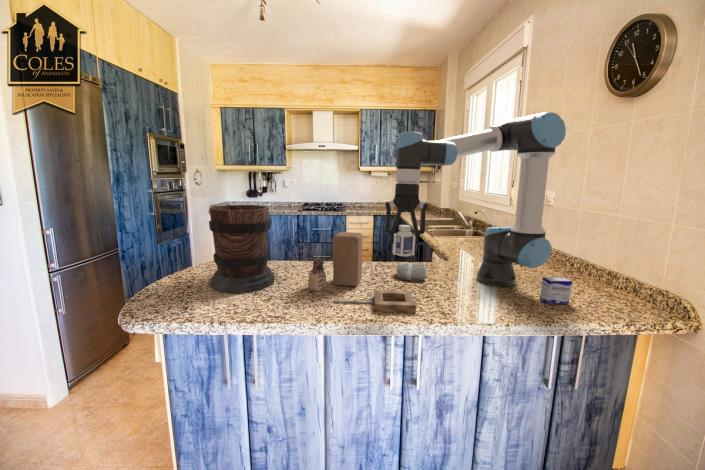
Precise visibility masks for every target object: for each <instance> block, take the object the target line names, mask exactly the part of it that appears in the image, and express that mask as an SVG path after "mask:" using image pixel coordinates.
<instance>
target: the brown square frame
mask: <svg viewBox="0 0 705 470" xmlns="http://www.w3.org/2000/svg"><path fill="white" fill-rule="evenodd" d="M373 298H374V299H373V300H374V301H372V300H371V301H370V300H365V301H364V300H345V299H344V300H341V299H340V300H339V299H335V300H334V299H333V304H334V303H335V304H337V303H338V304H358V303H360V304H364V305H366V304H367V305H374V312H378V313H379V312H382V313H406V314H407V313H408V314H409V313H410V314H416V313H417V305H416V302H415V299H414V296H413V292H412V291H411V290H391V289H390V290H389V289H388V290H383V289H374V293H373Z"/></svg>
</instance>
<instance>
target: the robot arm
mask: <svg viewBox="0 0 705 470" xmlns="http://www.w3.org/2000/svg"><path fill="white" fill-rule="evenodd" d="M566 134H567V129H566V123H565V121H564V119H562V117H561V116H560V115H559V114H558V113H556V112H553V111H548V112H546V111H545V112H538V113H534V114H529V115H527V116H526V115H525V116H521V117H516V118H513V119H510V120H508V121H504V122H501V123H499V124H495V125H491V126H489V127H487V129H485V130H480V131H475V132H471V133H467V134H461V135H457V136H451V137H447V138H441V139H438V140H427V139H424V136H423V133H422V132H418V131H404V132H401V133H399V135H398V137H397V138H398V139H397V145H396V148H397V150H396V151H397V152H396V153H397V155H396V170H395V171H396V172H395V181H396V182H397V183H396V184H395V187H394V188H395V189H394V190H395V191H394V198H393V199H392V200H390V201H385V203H384V204H385V208H386V211H385V215H386V216H385V223H384V225H385V226H384V231H385V233H387V234H390V235H389V243H390V245H392V255H396V236H397V235H396V233H395V232H396V230H397V227H398V224H399V221H400V219H401V215H402V214H403V213H409V214H410V215H409V216H410V219H411V224H412V228H413V232H414V234H413V233H412V234H413V239H412V254H411V255H410V256H415V251H416V247H415V246H418V245H419V236H420V235H423V234H425V232H426V211H427V208H428V207H429V206H428V203H426V202H423V201H421V200H420V198H419V196H420V195H419V194H420V184H419V182H420V180H421V167H422V166H424V167H426V166H442V167H444V166H452V165H454V164H455V162H456V160H457V158H460V157H465V156H470V155H474V154H478V153H483V152H484V153H485V152H488V151H490V152H492V153H495V152H500V151H517V153H516V154H517V156H518V157H519V158H520V170H519V178H518V179H519V180H518V190H517V200H516V201H517V202H516V210H515V211H516V213H515V222H514V225H513V226H490V227H489V226H488V227H487V228H485V233H484V237H483V251H482V252H483V253H482V261H481V264H480V265H479V268H478V271H477V273H476V280H477V281H479V282H480V283H482V284H485V285H489V286H495V287H504V288H505V287H513V286H515V285H516V284H517V283H516V282H517V277H516V272H515V268H514V264H516V265H518V266H520V267H523V268H528V269H536V268H537V269H538V268H539V267H542V266H543V265H545V263H546V262H547V261H548V260H549V259H550V256H551V255H552V249H553V248H552V244H551V242H550V240H548V239H547V238H546V230H545V229H544V228H543V227H542V225H543V224H542V223H543V216H544V215H543V214H544V207H545V198H546V197H545V196H546V189H547V179H548V170H549V163H550V162H549V161H550V158H551V157H552V156H553V155H555V154H556V148H557V147H558V146H560V145H561V144H562V142H563V141H564V139H565V138H566ZM393 205H394V206H395V207H396V209H397V210H396V214H395V216H394V220H393V222H392V225H390V224H391V223H390V222H391V214H392V213H391V211H392V209H391V208H393ZM418 206H419V208H420V218H419V219H420V221H419V222H420V223H419V227H418V222H417V217H416V212H415V210H416V208H417V207H418ZM390 226H391V228H390Z"/></svg>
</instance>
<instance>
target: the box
mask: <svg viewBox="0 0 705 470" xmlns="http://www.w3.org/2000/svg"><path fill="white" fill-rule="evenodd" d="M572 285H573V281H572V280H570V279H568V278H566V277H561V276H559V277H558V276H555V277H550V276H549V277H547V276H544V277H542V280H541V288H540V294H539V295H540V296H539V300H540V301H541V302H543V303H545V304H547V305H569V304H570V298H571V292H572V287H573V286H572Z"/></svg>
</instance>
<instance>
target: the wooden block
mask: <svg viewBox="0 0 705 470" xmlns="http://www.w3.org/2000/svg"><path fill="white" fill-rule="evenodd" d="M332 240H333V241H332V242H333V243H332V244H333V245H332V251H333V253H332V256H333V257H332V260H333V261H332V264H333V265H332V270H333V271H332V276H333V277H332V283H333V285H335V286H341V285H342V286H343V287H344V286H345V287H355V288H357V287H358V286H359V284H360V282H361V281H362V276H363V275H362V271H363V270H362V269H363V266H362V264H363V233H361V232H353V231H352V232H351V231H349V232H347V231H340V232H338V233H336V234H335V235H333V238H332ZM342 286H341V287H342Z"/></svg>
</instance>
